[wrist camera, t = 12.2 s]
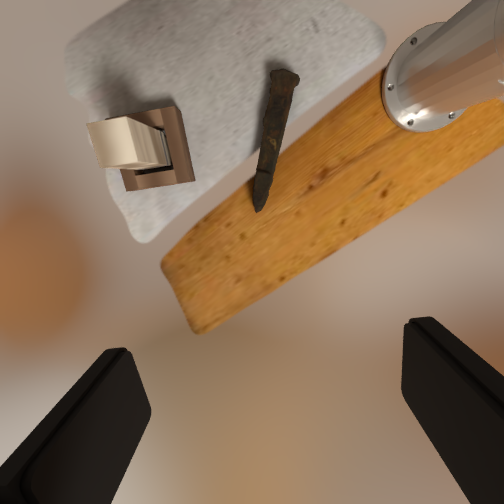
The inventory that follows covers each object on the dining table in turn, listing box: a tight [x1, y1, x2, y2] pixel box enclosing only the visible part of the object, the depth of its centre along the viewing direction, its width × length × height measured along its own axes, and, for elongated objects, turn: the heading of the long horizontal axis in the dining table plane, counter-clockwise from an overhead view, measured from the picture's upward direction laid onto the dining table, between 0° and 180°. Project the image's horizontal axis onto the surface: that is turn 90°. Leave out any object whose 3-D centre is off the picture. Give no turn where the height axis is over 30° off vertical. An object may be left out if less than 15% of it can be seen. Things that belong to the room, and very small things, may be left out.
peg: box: [87, 117, 173, 170], centre depth 32 cm, size 5×5×12 cm
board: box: [105, 106, 195, 191], centre depth 36 cm, size 10×10×3 cm
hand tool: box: [253, 69, 300, 213], centre depth 35 cm, size 19×4×5 cm, turn 165°
